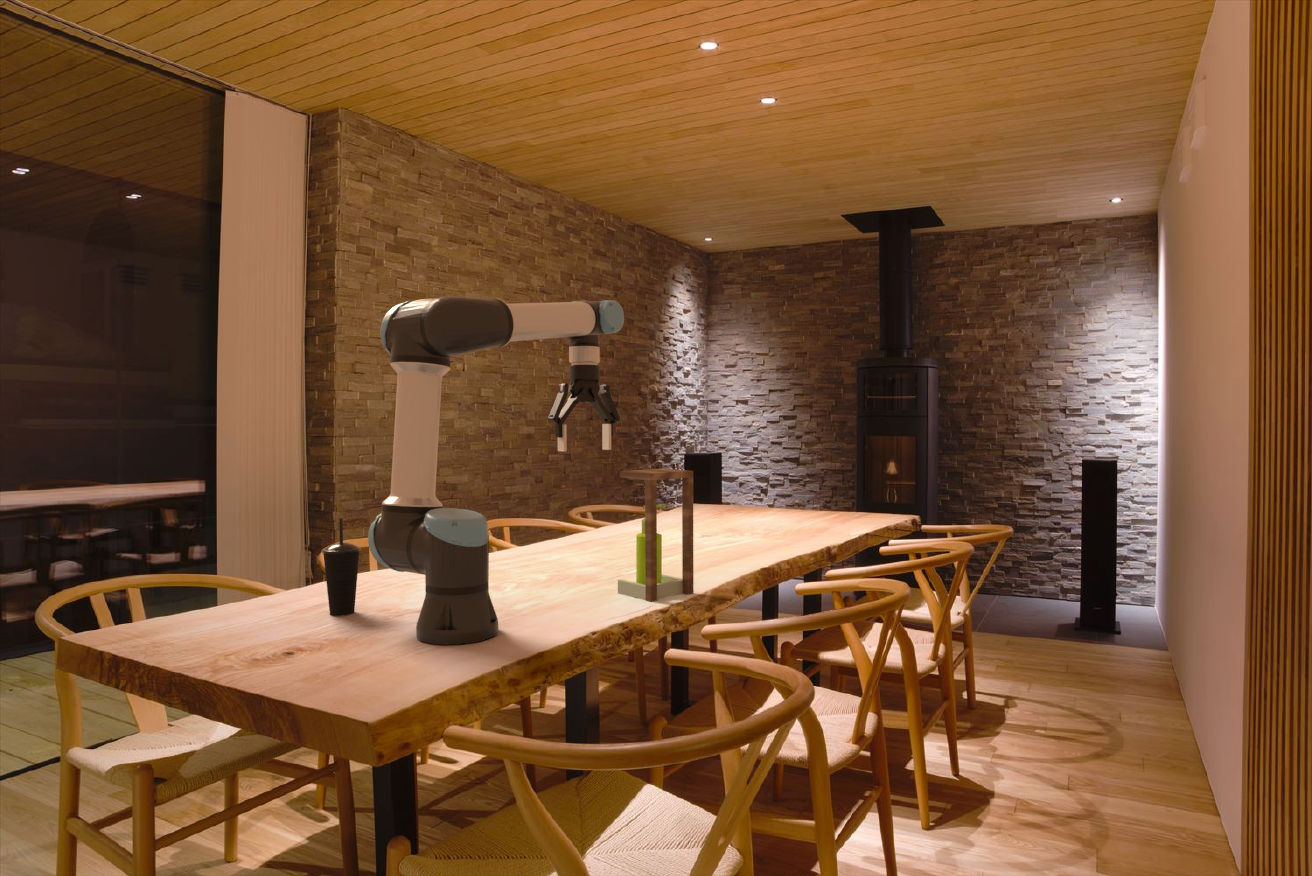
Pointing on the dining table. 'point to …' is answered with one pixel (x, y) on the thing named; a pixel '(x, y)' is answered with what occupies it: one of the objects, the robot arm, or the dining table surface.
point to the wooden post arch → (651, 525)
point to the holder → (663, 589)
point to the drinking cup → (341, 575)
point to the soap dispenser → (641, 554)
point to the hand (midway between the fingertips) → (584, 450)
